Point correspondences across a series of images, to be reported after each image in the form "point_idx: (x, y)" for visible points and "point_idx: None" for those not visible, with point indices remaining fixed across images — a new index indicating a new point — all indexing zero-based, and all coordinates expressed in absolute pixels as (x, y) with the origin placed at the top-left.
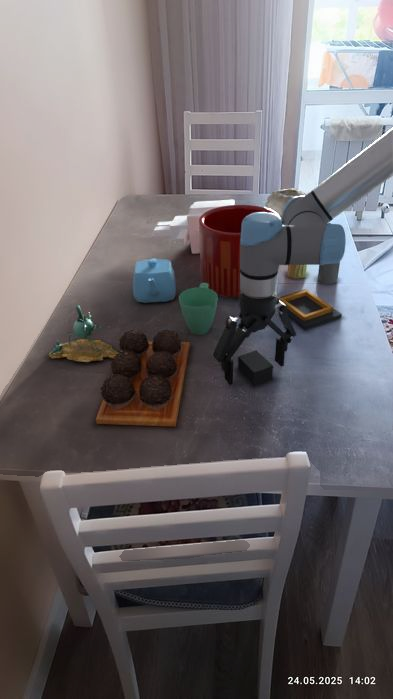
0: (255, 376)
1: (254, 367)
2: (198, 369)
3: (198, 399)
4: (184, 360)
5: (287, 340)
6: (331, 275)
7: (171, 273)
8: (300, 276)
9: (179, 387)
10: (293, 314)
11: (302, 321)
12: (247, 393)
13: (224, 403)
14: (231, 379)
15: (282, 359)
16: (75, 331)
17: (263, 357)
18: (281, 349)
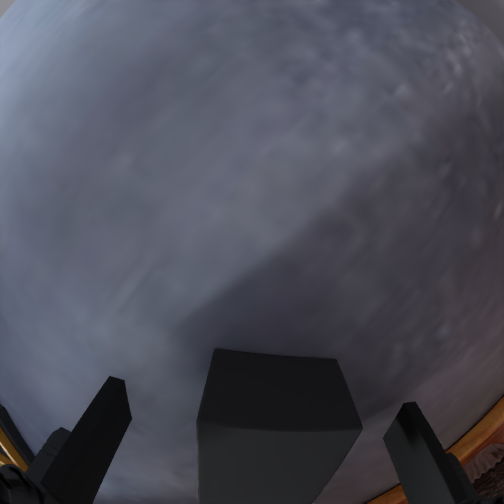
0: (346, 403)
1: (319, 457)
2: (385, 476)
3: (493, 377)
4: (399, 501)
5: (24, 487)
6: None
7: None
8: (1, 465)
9: (499, 424)
10: (18, 451)
11: (2, 427)
12: (394, 334)
13: (482, 326)
14: (421, 422)
15: (101, 408)
16: None
17: (203, 478)
18: (81, 462)
